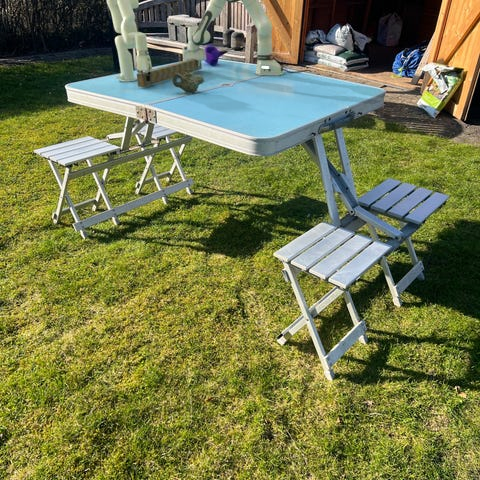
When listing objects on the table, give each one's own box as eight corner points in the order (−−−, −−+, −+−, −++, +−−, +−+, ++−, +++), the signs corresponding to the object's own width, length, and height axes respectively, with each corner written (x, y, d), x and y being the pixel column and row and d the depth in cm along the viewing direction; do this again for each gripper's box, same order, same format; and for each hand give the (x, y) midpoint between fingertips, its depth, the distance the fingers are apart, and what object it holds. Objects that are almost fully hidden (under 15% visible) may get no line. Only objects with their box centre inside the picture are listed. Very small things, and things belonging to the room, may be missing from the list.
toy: (212, 67, 383) (203, 66, 406) (231, 60, 386) (220, 59, 410) (206, 48, 375) (197, 48, 399) (225, 41, 378) (215, 41, 402)
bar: (143, 87, 314) (141, 74, 309) (138, 86, 316) (136, 73, 311) (201, 69, 372) (201, 58, 368) (197, 68, 374) (196, 57, 370)
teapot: (202, 89, 310) (201, 66, 302) (206, 92, 300) (205, 69, 293) (172, 92, 304) (169, 68, 296) (175, 95, 295) (173, 71, 287)
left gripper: (155, 53, 308) (158, 80, 317) (136, 51, 314) (139, 78, 324) (148, 54, 302) (152, 82, 311) (129, 53, 309) (132, 80, 318)
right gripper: (207, 47, 358) (208, 65, 365) (185, 46, 366) (187, 64, 373) (203, 48, 353) (204, 67, 360) (181, 47, 361) (182, 65, 368)
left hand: (145, 80), depth 317 cm, fingers closed on bar, 4 cm apart
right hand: (195, 65), depth 367 cm, fingers closed on bar, 5 cm apart
